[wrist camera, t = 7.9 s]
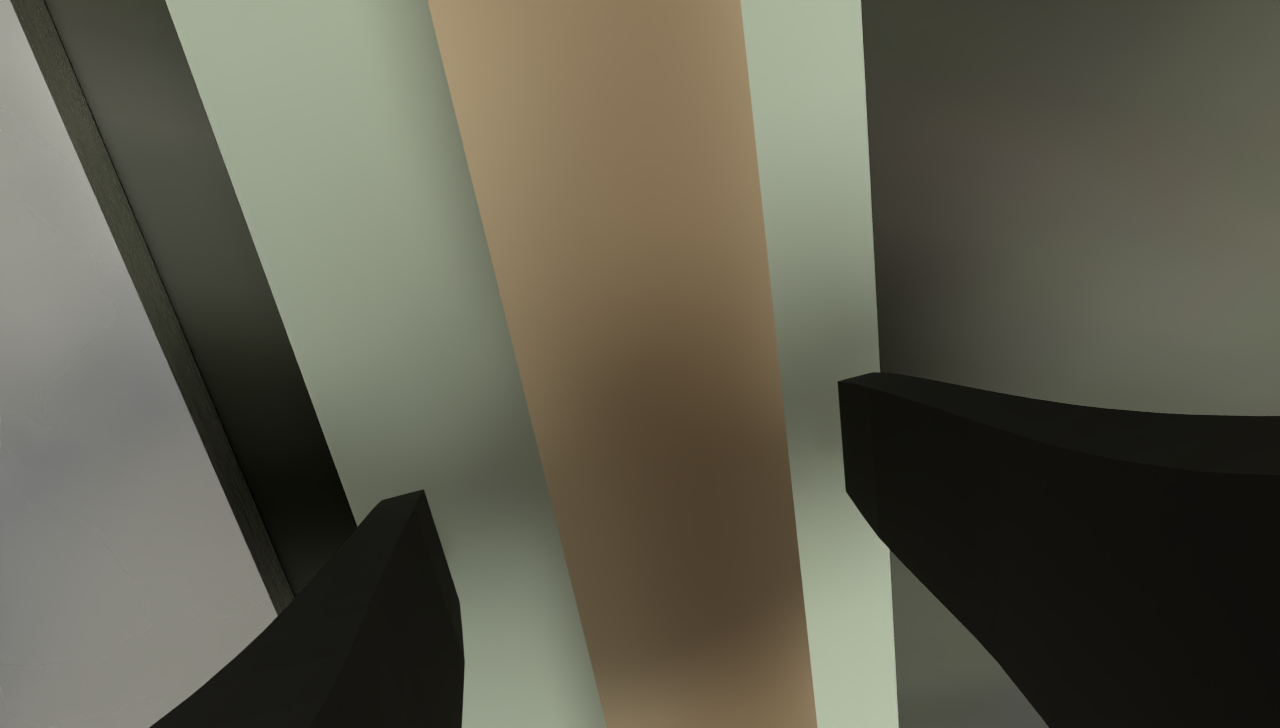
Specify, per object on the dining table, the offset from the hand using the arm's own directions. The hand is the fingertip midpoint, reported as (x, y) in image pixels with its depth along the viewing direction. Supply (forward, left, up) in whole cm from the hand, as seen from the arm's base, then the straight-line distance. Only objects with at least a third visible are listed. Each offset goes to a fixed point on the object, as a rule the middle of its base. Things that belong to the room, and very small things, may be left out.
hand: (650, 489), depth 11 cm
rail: (0, 0, -1) cm, 1 cm away
